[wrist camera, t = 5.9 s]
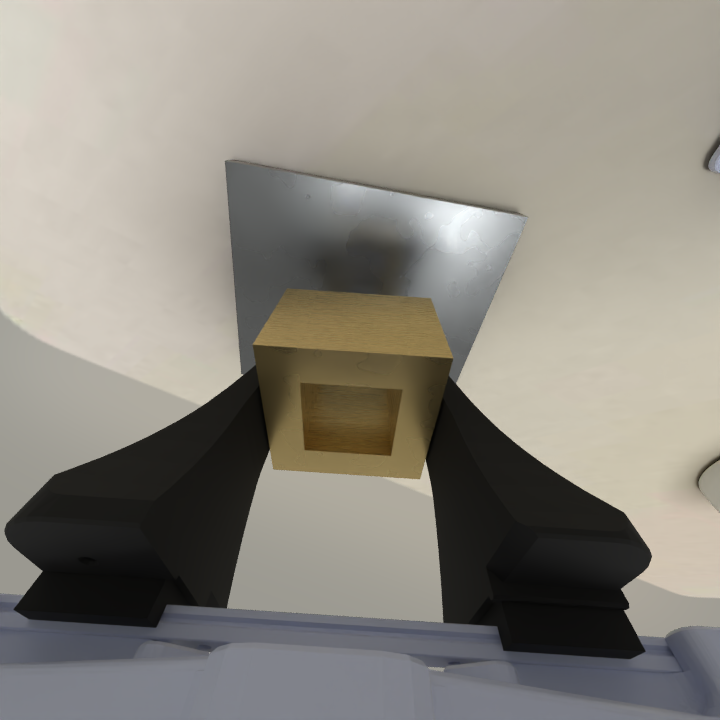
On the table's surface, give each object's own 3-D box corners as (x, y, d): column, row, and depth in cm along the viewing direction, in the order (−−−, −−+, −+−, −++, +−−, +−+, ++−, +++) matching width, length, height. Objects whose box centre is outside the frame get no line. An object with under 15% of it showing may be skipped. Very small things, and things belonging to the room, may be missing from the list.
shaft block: (519, 213, 15) (559, 232, 12) (444, 394, 22) (456, 438, 19) (233, 160, 14) (191, 163, 11) (246, 365, 21) (223, 405, 18)
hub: (430, 298, 12) (453, 358, 8) (409, 404, 15) (419, 479, 11) (287, 288, 12) (252, 344, 8) (295, 396, 15) (273, 469, 11)
